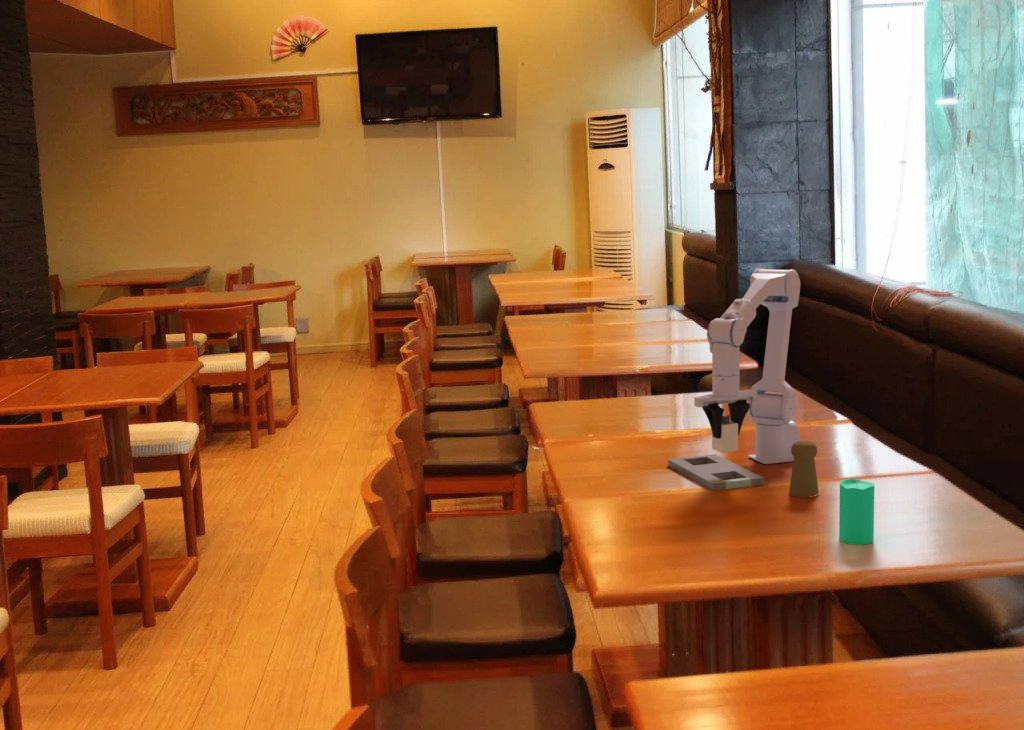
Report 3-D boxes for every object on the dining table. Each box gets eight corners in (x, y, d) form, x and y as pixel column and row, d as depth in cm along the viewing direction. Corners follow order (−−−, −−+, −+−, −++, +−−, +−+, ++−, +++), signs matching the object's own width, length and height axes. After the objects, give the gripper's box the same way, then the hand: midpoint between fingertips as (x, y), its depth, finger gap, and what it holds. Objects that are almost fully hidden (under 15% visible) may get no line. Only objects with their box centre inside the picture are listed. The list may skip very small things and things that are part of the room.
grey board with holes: (715, 460, 268) (715, 454, 267) (763, 484, 246) (763, 477, 246) (668, 465, 264) (668, 459, 264) (712, 490, 243) (712, 483, 242)
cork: (819, 498, 234) (820, 445, 233) (789, 497, 236) (789, 445, 234) (818, 490, 240) (818, 438, 238) (788, 489, 241) (788, 438, 240)
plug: (727, 446, 251) (727, 413, 250) (738, 450, 248) (738, 416, 246) (712, 449, 250) (711, 415, 249) (722, 452, 246) (722, 418, 245)
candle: (834, 535, 210) (834, 471, 208) (865, 533, 211) (866, 470, 209) (846, 545, 204) (847, 480, 202) (879, 543, 205) (880, 478, 203)
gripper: (744, 368, 252) (744, 429, 254) (686, 374, 247) (687, 436, 249) (762, 373, 246) (762, 435, 248) (704, 379, 240) (704, 443, 242)
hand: (726, 436), depth 248 cm, fingers closed on plug, 4 cm apart
